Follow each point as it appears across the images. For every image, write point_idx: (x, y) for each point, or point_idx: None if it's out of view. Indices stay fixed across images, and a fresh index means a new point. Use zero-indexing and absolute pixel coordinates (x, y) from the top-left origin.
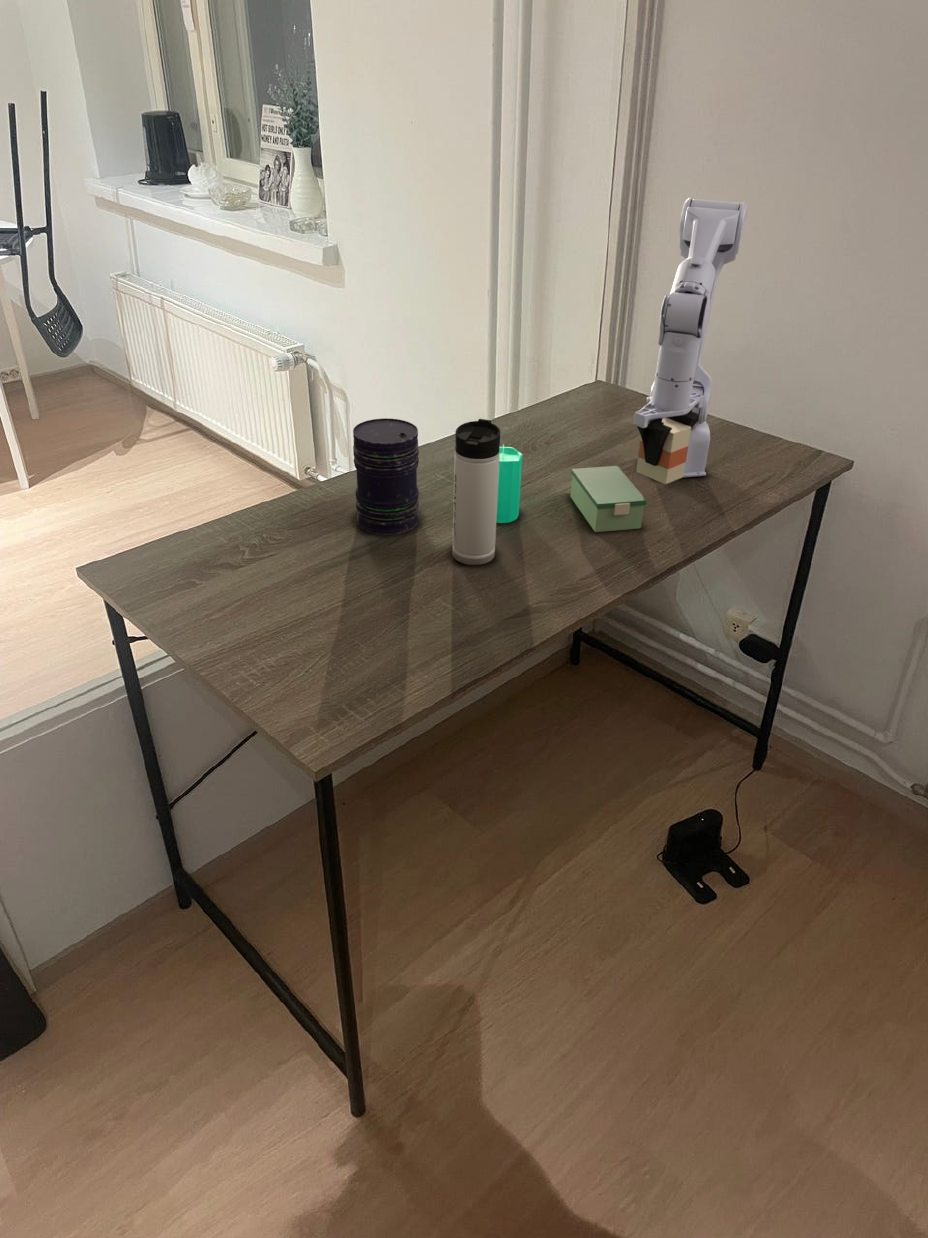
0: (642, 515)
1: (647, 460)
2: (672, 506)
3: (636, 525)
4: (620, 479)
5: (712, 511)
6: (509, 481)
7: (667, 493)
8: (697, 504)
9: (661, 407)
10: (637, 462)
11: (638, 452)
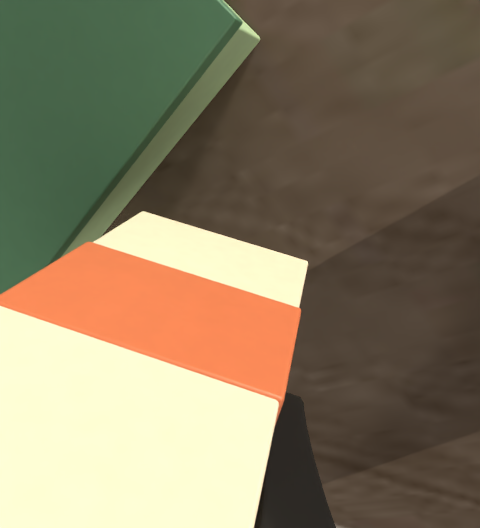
0: None
1: None
2: (303, 312)
3: None
4: (73, 143)
5: (351, 438)
6: None
7: (417, 256)
8: (379, 384)
9: None
10: (111, 230)
11: (68, 253)
